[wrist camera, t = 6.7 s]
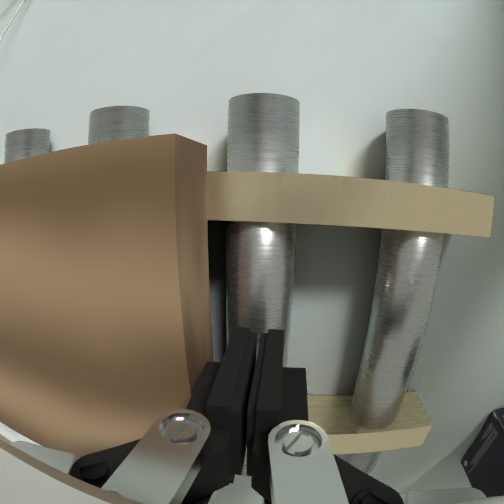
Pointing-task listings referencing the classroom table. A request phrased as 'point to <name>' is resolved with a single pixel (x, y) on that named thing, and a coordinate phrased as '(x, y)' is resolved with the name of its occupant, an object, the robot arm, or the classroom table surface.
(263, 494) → the robot arm
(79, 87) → the classroom table surface
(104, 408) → the slab
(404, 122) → the roller bed
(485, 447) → the small box
